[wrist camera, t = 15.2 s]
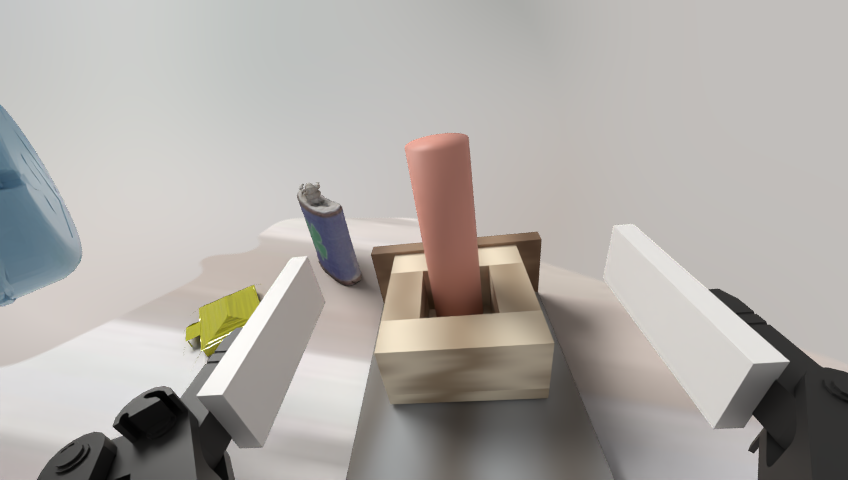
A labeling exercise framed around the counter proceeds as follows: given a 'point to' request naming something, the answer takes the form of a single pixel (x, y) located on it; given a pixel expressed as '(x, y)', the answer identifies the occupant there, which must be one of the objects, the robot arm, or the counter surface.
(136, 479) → the robot arm
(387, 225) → the counter surface
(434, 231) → the dowel
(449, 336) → the socket block
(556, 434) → the grey fixture base
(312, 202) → the flask
